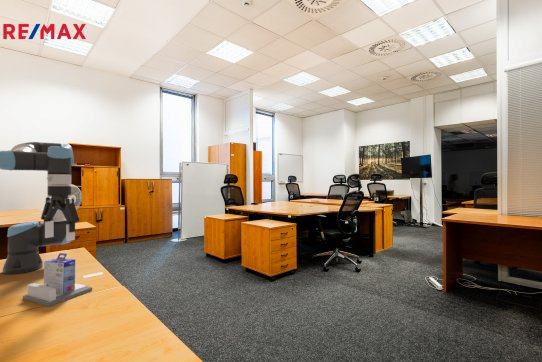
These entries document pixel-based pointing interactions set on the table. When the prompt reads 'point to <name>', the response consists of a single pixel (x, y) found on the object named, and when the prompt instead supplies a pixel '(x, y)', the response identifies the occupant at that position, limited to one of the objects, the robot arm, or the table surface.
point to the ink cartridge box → (60, 274)
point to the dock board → (60, 298)
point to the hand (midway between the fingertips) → (59, 239)
